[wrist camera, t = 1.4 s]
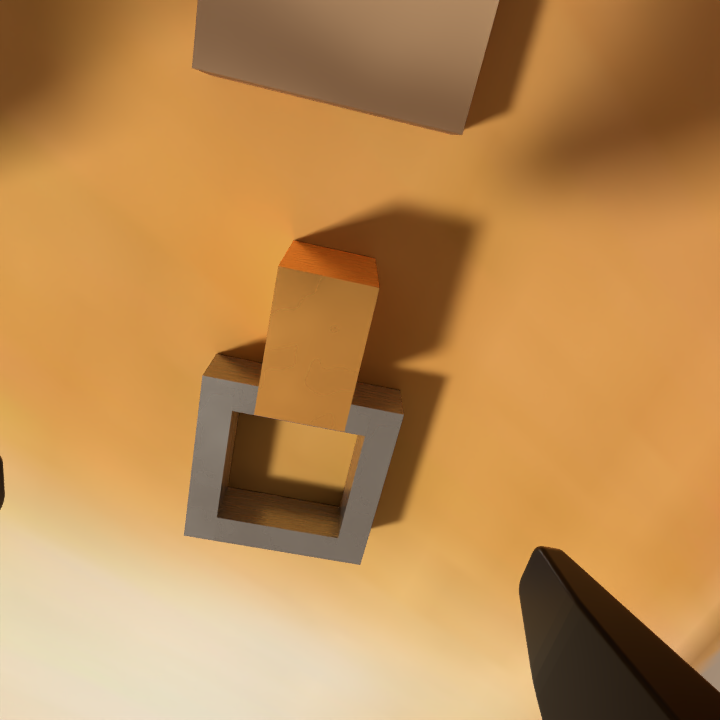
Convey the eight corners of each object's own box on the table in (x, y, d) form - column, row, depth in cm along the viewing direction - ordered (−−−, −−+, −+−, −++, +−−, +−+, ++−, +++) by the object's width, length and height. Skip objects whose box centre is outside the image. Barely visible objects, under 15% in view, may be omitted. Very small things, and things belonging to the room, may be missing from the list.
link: (360, 531, 24) (360, 603, 20) (197, 503, 23) (167, 572, 20) (433, 271, 19) (451, 303, 16) (232, 226, 19) (201, 249, 15)
